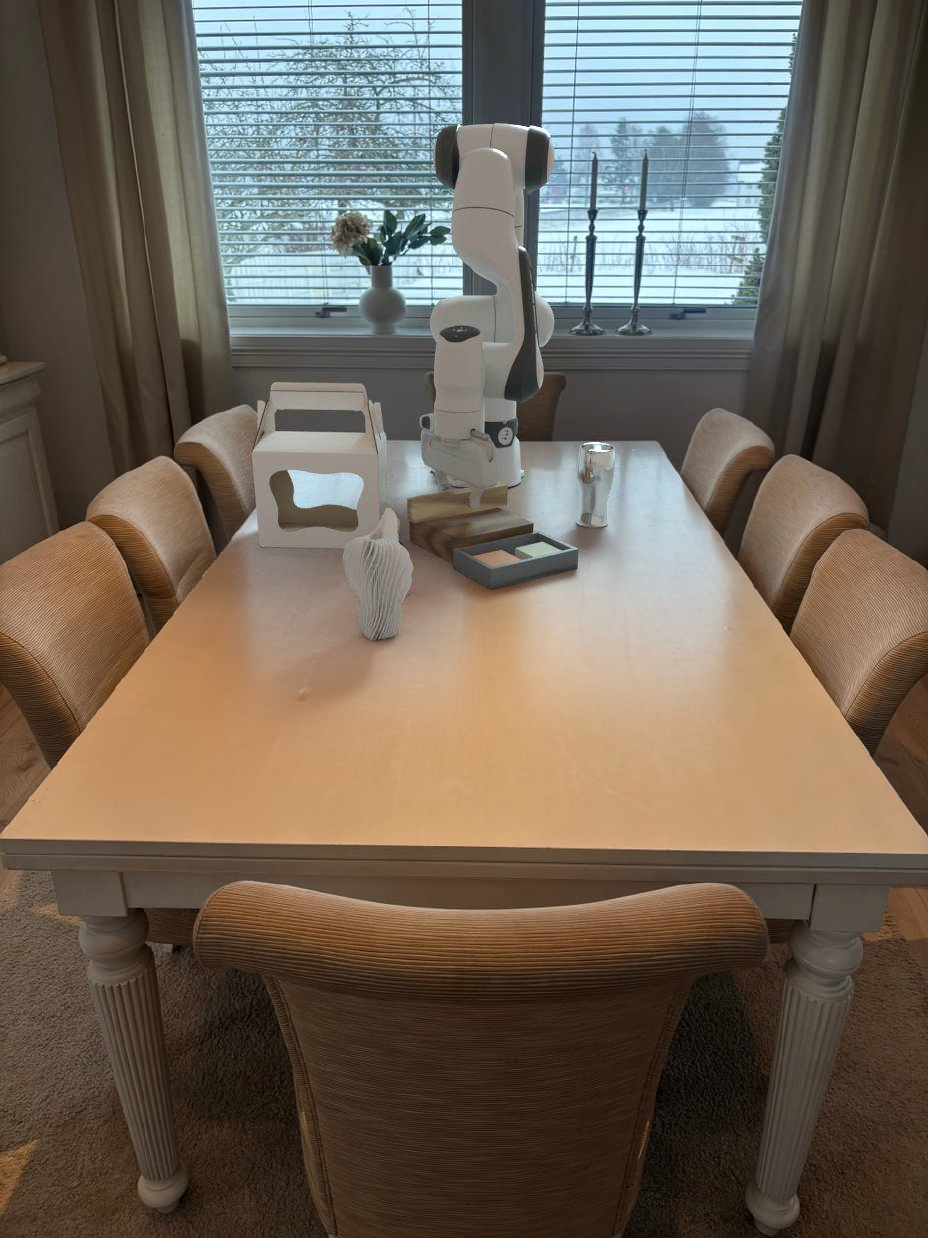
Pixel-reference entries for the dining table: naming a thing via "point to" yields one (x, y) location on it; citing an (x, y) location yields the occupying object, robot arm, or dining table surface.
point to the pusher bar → (453, 503)
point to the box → (518, 569)
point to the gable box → (317, 467)
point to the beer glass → (594, 483)
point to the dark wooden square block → (467, 531)
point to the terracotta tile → (497, 558)
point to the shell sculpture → (379, 577)
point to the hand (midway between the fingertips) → (458, 500)
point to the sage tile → (534, 550)
